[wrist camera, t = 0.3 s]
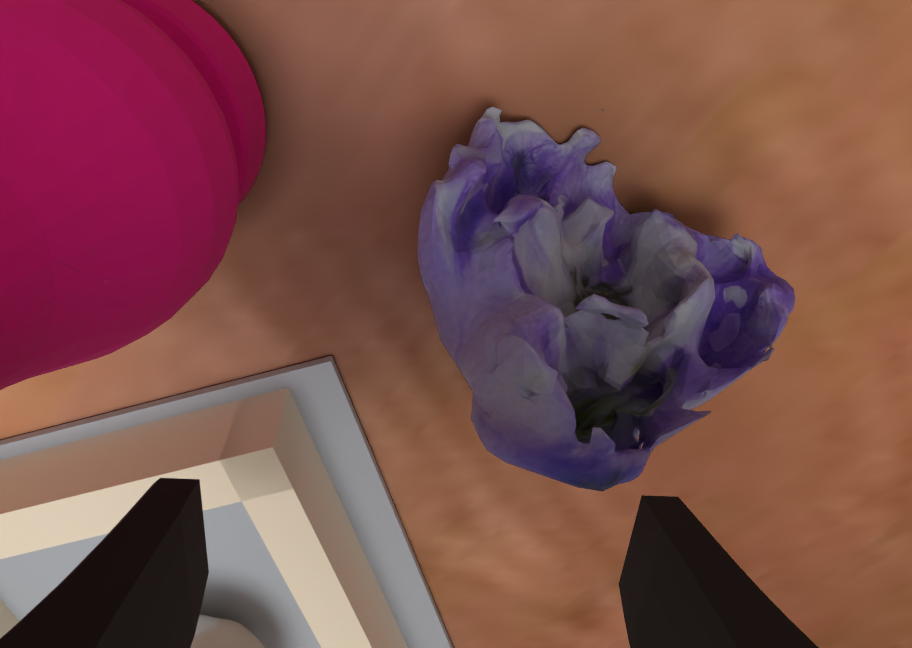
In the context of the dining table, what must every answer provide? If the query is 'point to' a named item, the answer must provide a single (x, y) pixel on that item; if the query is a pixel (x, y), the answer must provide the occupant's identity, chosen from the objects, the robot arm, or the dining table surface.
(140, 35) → the pepper mill
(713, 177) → the dining table surface
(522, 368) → the flower
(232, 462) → the cubby board
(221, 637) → the garlic bulb
